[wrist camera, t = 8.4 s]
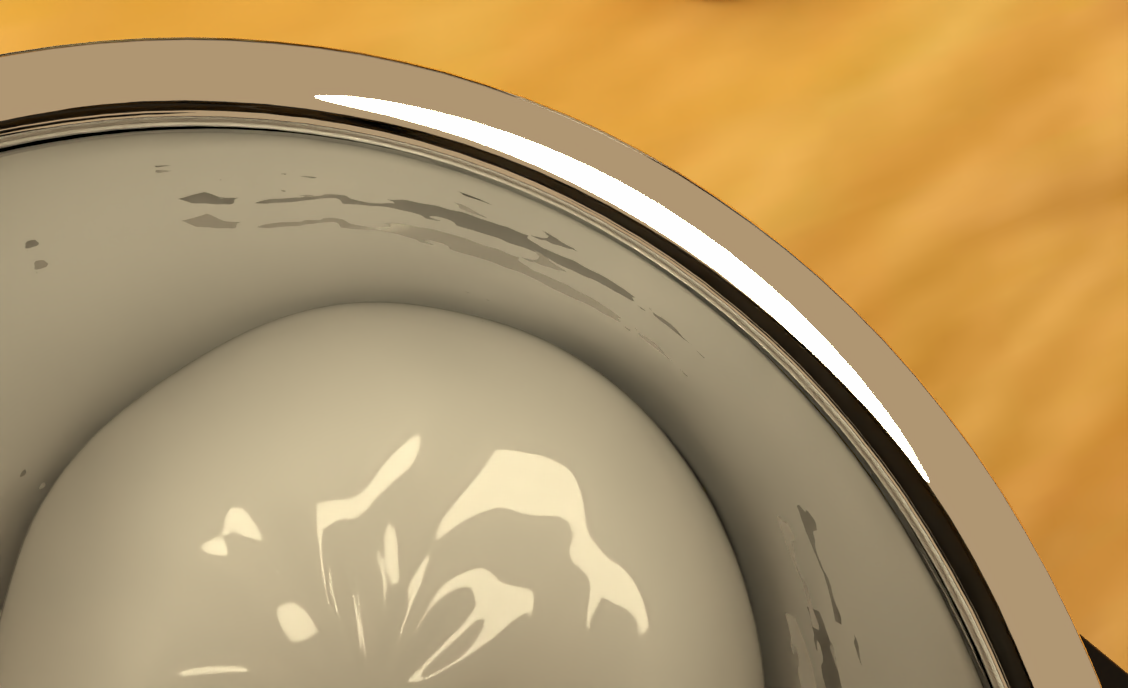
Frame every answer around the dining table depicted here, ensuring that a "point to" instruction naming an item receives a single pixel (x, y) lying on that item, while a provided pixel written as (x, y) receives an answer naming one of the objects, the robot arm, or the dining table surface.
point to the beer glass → (451, 406)
